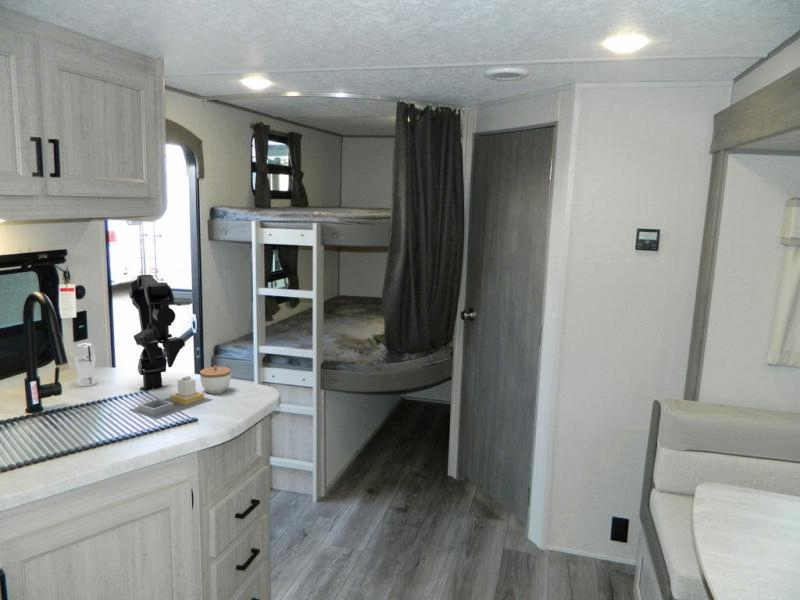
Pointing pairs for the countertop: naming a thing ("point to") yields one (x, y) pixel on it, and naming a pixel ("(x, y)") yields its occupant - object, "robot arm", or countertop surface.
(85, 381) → the beer glass
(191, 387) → the plug
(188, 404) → the multicoloured flat piece
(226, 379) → the lidded jar
